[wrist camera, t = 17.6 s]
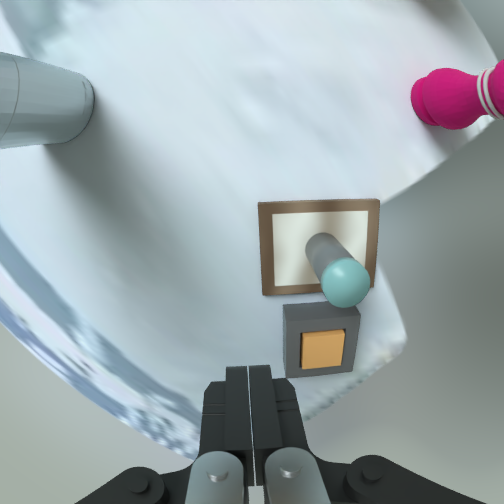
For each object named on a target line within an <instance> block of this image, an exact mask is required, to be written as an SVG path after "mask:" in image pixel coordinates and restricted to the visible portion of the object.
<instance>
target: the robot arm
mask: <svg viewBox="0 0 504 504" xmlns="http://www.w3.org/2000/svg"><path fill="white" fill-rule="evenodd" d="M93 104H94V95H93V90H92V87H91V84H90V83H89V81H88V80H87V79H86V78H85V77H84V76H83V75H81V74H79V73H76V72H73V71H70V70H67V69H63V68H61V67H57V66H54V65H50V64H47V63H43V62H40V61H36V60H32V59H28V58H24V57H20V56H16V55H12V54H8V53H3V52H0V149H6V148H13V147H21V146H30V145H40V144H53V143H63V142H67V141H70V140H71V139H73V138H75V137H76V136H77V135H79V134H80V133H81V131H82V130H83V129H84V128H85V126H86V125H87V123H88V121H89V119H90V116H91V114H92V110H93ZM249 383H250V404H251V419H252V433H253V446H254V458H255V471H256V485H257V486H262V485H263V489H264V500H265V501H264V504H486V503H483V502H480V501H478V500H475V499H473V498H470V497H467V496H465V495H462V494H460V493H458V492H455V491H453V490H450V489H448V488H446V487H444V486H441V485H439V484H437V483H435V482H433V481H430V480H428V479H426V478H424V477H422V476H420V475H417V474H416V473H413V472H412V471H410V470H407V469H405V468H403V467H401V466H400V465H398V464H396V463H394V462H392V461H390V460H388V459H386V458H384V457H381V456H377V455H366V456H362V457H360V458H358V459H356V460H355V461H353V462H352V463H351V464H345V463H333V462H327V461H324V460H322V459H320V458H318V457H316V456H315V455H314V454H313V453H312V452H311V451H310V449H309V447H308V444H307V440H306V436H305V431H304V427H303V422H302V418H301V414H300V411H299V405H298V401H297V397H296V393H295V388H294V387H293V385H292V384H291V383H290V382H289V381H288V380H287V379H286V378H278V379H272V375H271V369H270V365H256V366H249ZM253 469H254V468H253V448H252V434H251V420H250V405H249V390H248V374H247V366H236V367H226V381H219V382H211V383H210V385H209V386H208V387H207V389H206V390H205V392H204V401H203V412H202V423H201V435H200V447H199V454H198V456H197V458H196V460H195V461H194V462H193V463H192V464H191V465H190V466H188V467H187V468H185V469H183V470H180V471H176V472H171V473H166V474H161V475H159V474H158V473H157V472H155V471H154V470H152V469H149V468H146V467H133V468H129V469H127V470H125V471H123V472H122V473H121V474H119V475H118V476H116V477H115V478H113V479H112V480H110V481H109V482H107V483H106V484H104V485H103V486H101V487H100V488H98V489H97V490H95V491H94V492H92V493H91V494H89V495H88V496H86V497H85V498H83V499H82V500H80V501H78V502H77V503H75V504H249V493H248V486H254V470H253Z"/></svg>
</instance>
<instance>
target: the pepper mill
mask: <svg viewBox="0 0 504 504" xmlns="http://www.w3.org/2000/svg"><path fill="white" fill-rule="evenodd" d="M411 102H412V105H413V108H414V110H415V112H416V114H417V115H418V116H419V118H420V119H421V120H423V121H424V122H425V123H427V124H430V125H434V126H442V127H444V128H447V129H451V130H456V129H462V128H465V127H468V126H469V125H471V124H473V123H474V122H475V121H476V120H477V119H478V118H479V117H480V116H482V115H490V116H491V117H493V118H494V119H497V120H504V60H502V61H500V62H499V63H498V64H497V65H496V67H491V68H485V69H483V70H482V71H481V72H480V73H479V75H477V76H474V75H470V74H467V73H465V72H462V71H460V70H457V69H451V68H441V69H436V70H434V71H432V72H431V73H429V75H428V76H427V77H424V78H421V79H419V80H417V81H416V82H415V84H414V85H413V87H412V91H411Z"/></svg>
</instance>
